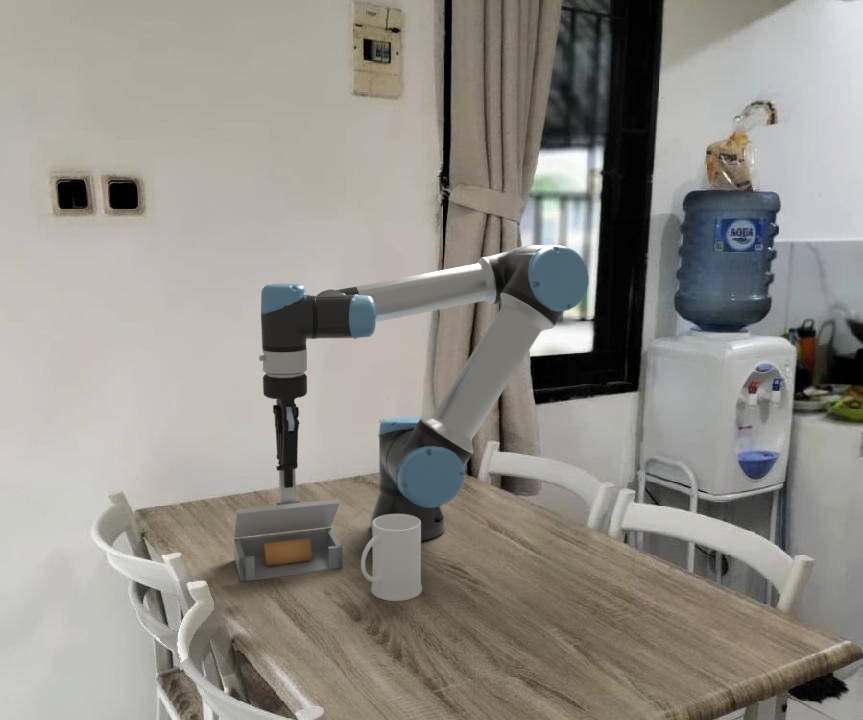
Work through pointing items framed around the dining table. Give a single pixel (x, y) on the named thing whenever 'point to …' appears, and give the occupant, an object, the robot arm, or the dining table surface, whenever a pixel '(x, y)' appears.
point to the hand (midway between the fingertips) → (287, 502)
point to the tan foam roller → (287, 552)
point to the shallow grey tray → (253, 566)
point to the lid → (285, 517)
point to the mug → (395, 557)
